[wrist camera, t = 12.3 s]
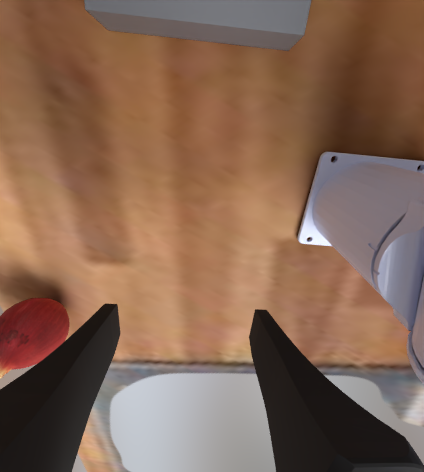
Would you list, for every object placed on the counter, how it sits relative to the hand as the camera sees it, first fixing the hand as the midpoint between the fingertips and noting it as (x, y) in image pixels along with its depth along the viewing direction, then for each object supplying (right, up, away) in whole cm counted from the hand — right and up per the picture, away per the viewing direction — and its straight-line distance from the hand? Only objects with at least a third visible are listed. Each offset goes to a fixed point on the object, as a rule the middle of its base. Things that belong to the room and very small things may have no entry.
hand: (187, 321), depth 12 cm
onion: (-16, -3, +13) cm, 21 cm away
